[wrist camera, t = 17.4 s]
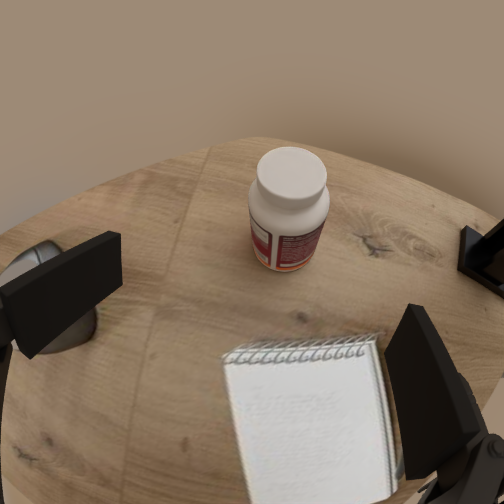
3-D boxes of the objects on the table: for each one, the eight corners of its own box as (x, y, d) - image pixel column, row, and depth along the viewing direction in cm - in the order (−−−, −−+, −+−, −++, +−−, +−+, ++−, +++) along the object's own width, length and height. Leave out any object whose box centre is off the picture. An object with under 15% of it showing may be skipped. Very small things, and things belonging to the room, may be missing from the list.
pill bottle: (320, 227, 28) (345, 152, 18) (305, 281, 26) (331, 222, 15) (263, 211, 29) (262, 131, 19) (243, 262, 27) (231, 194, 17)
